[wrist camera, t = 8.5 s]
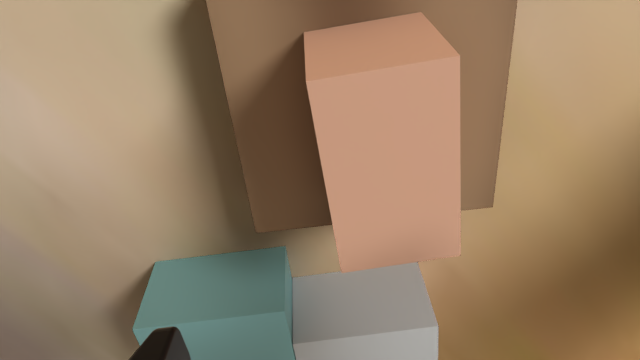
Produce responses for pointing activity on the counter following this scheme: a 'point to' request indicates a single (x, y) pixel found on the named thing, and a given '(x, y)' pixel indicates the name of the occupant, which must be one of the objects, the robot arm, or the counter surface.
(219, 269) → the teal brick
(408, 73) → the terracotta brick
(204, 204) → the counter surface
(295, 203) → the walnut slab
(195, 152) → the counter surface
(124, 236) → the counter surface
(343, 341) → the grey brick
